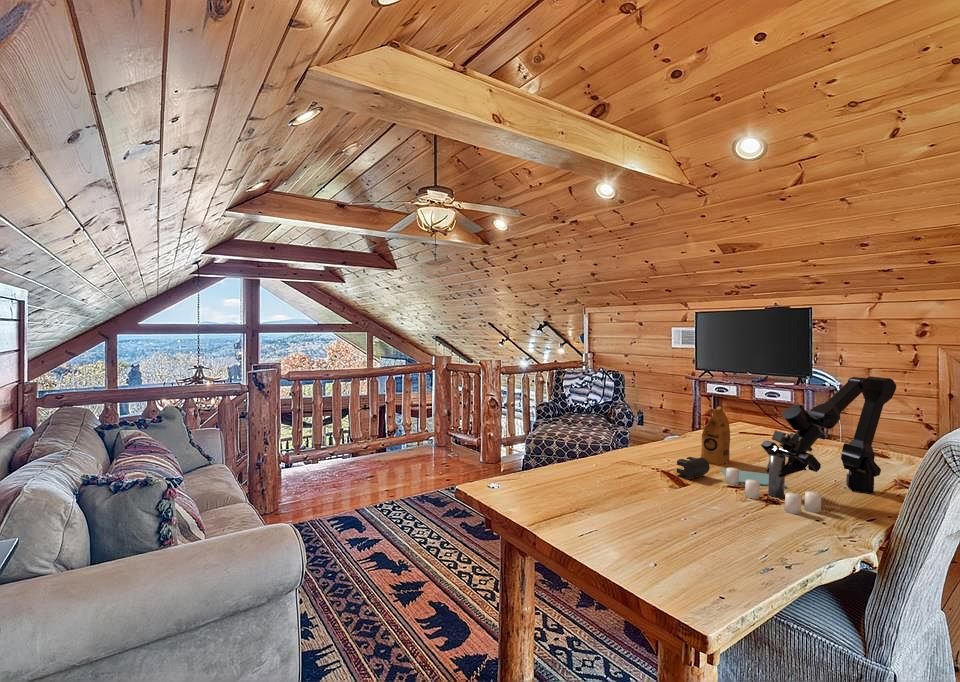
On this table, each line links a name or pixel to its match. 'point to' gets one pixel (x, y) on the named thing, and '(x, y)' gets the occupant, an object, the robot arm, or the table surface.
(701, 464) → the end cap
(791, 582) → the table surface
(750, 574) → the table surface
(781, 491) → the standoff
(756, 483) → the spacers
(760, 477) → the mat
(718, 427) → the coffee package
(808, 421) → the robot arm
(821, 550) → the table surface
